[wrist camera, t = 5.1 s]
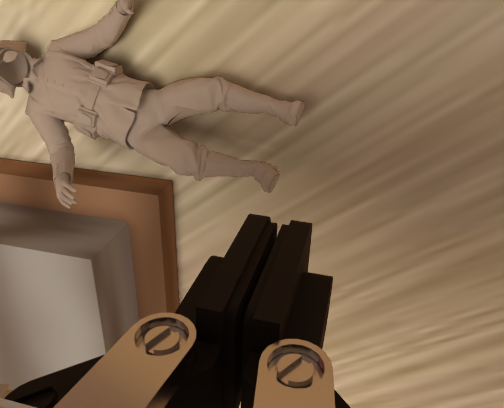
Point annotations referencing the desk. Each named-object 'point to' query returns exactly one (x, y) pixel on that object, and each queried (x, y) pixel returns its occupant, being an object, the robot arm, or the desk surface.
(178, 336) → the robot arm
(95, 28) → the soldier figure
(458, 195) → the desk surface
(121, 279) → the tower pedestal
